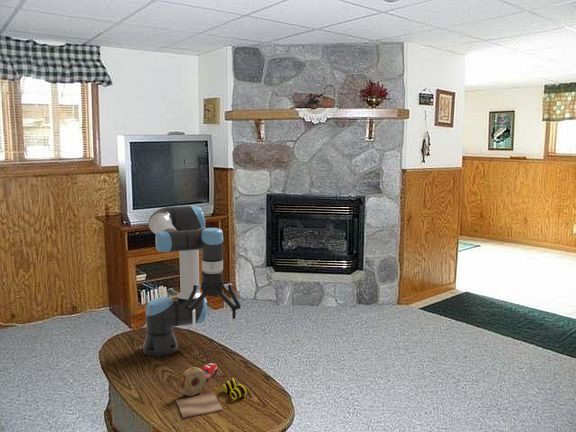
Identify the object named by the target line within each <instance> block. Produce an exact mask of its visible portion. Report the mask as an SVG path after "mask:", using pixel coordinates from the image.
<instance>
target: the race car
mask: <svg viewBox="0 0 576 432" xmlns="http://www.w3.org/2000/svg"><path fill="white" fill-rule="evenodd" d="M201 369H202V370H203V371H204V373H205V375H206V384H207V383H208V382H209V381H210V380H211V379H212V378H213V376H215V375H216V374H217V373H218V371H219V368H218V364H217V363H211V362H210V363H206V364H205V365H203V366H202V367H201Z"/></svg>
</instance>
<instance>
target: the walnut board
mask: <svg viewBox="0 0 576 432" xmlns="http://www.w3.org/2000/svg"><path fill="white" fill-rule="evenodd" d="M175 402H176V405H177V407H178V409H179V412H180V416H181V417H182V419H189V418H193V417H199V416H203V415H207V414H212V413H217V412H221V411H223V410H224V409H223V407H222V405H221V403H220V401H219V399H218V398H217V396H216V395H215V392H211V393H206V394H201V395H200V394H199V395H193V396H188V397H185V398H180V399H176V400H175Z"/></svg>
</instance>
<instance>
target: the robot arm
mask: <svg viewBox="0 0 576 432" xmlns="http://www.w3.org/2000/svg"><path fill="white" fill-rule="evenodd" d="M148 228H149V230H150V231H151V232H152V233H153V234H155V240H154V241H155V248H156V251H157V252H158V253H171V252H174V253H175V252H179V285H180V290H179V293H178V294H177V296H176V297H177V298H176V300H175V299H173V298H172V297H170V296H161V297H155V298H154V299H152V300H150V301H148V302H147V304H146V306H145V308H146V309H145V316H146V317H145V319H146V336H145V339H144V342H143V344H142V345H143V346H142V351H143V354H144V355H146V356H148V357H155V358H156V357H159V358H161V357H166V356H170V355H172V354H174V353H175V352H177V351H178V341H177V339H176V336H175V333H174V328H175V327H181V326H189V325H190V326H191V325H192V330H196V325H198V324H202V323H204V322H205V321H206V318H207V315H208V300H207V298H206V296H207V297H208V298H211V297H214V298H215V297H218V296H219V297H220V298H221V299H222V300H223V301H224V302H225V304H226V305H227V306H228V307H229V308H230V309H229V310H230V311H229V312H230V313H229V314H230V315H229V317H230V320H229V321H230V322H229V323H230V325H229V326H230V327H229V328H230V329H233V319H236V313H237V310H239V309H241V308H242V307H241V303H240V301H239V299H238V297H237V295H236V293H235V291H234V290H233V286H232V284H233V283H231V282H229V283H225V284H224V271H223V270H224V232H223V230H222V229H221V228H217V227H206V218H205V214H204V212H203V209H202V208H201V207H200V206H196V205H194V206H193V205H185V206H165V207H162V208H159V209H157V210H156V211H154V212H153V213H152V214H151V215H150V217H149V218H148ZM200 250H201V271H202V273H201V284H200V255H199V254H200V253H199V251H200ZM200 289H201V290H200ZM224 289H226V290H227V291H228V292H229V295H230V296H231V298H232V300H233V302H232V300H231V299H229V297H228V296H227V295H226V294H225V292H224V291H223V290H224ZM201 291H202V292H201Z"/></svg>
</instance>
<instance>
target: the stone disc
mask: <svg viewBox="0 0 576 432" xmlns="http://www.w3.org/2000/svg"><path fill="white" fill-rule="evenodd" d="M193 379H194V381H193V382H192V380H193ZM206 385H207V383H206V375H205V373H204V371H203V370H202V368H200V367H196V366H194V367H189V368H188V369H186V370H184V371H183V372H182V373H181V375H180V378H179V386H178V387H179V390H180V392H181V393H182V394H183V395H186V396H187V397H194V396H197V395H198V394H200V393H201V392H203V391H204V389H205V388H206Z"/></svg>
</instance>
